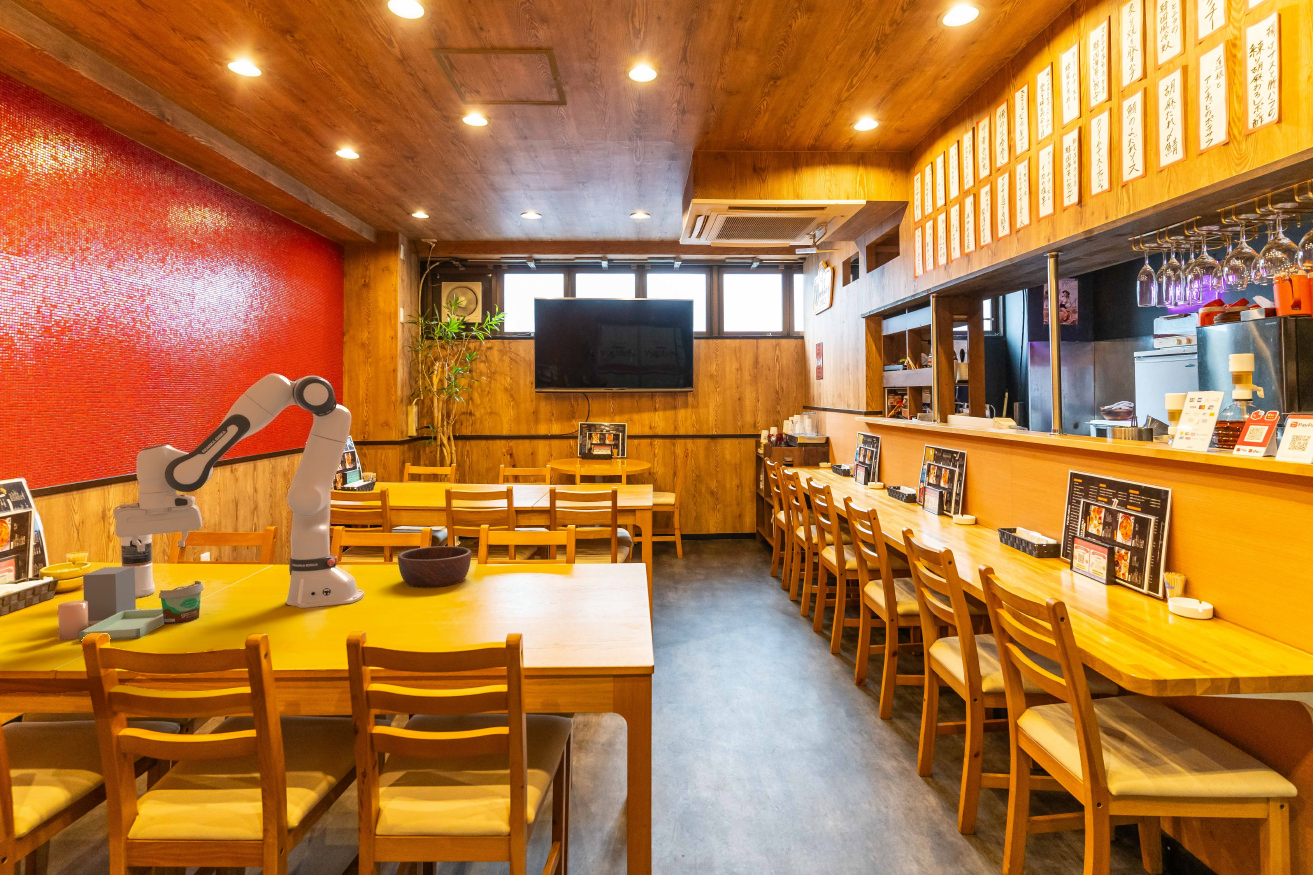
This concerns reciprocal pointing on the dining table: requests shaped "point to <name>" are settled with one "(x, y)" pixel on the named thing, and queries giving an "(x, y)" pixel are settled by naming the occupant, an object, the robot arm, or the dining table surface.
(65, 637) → the canister
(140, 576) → the vodka
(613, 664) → the dining table surface
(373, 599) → the dining table surface
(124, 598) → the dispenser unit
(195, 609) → the food container
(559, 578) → the dining table surface
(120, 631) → the tray
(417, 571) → the wooden bowl
